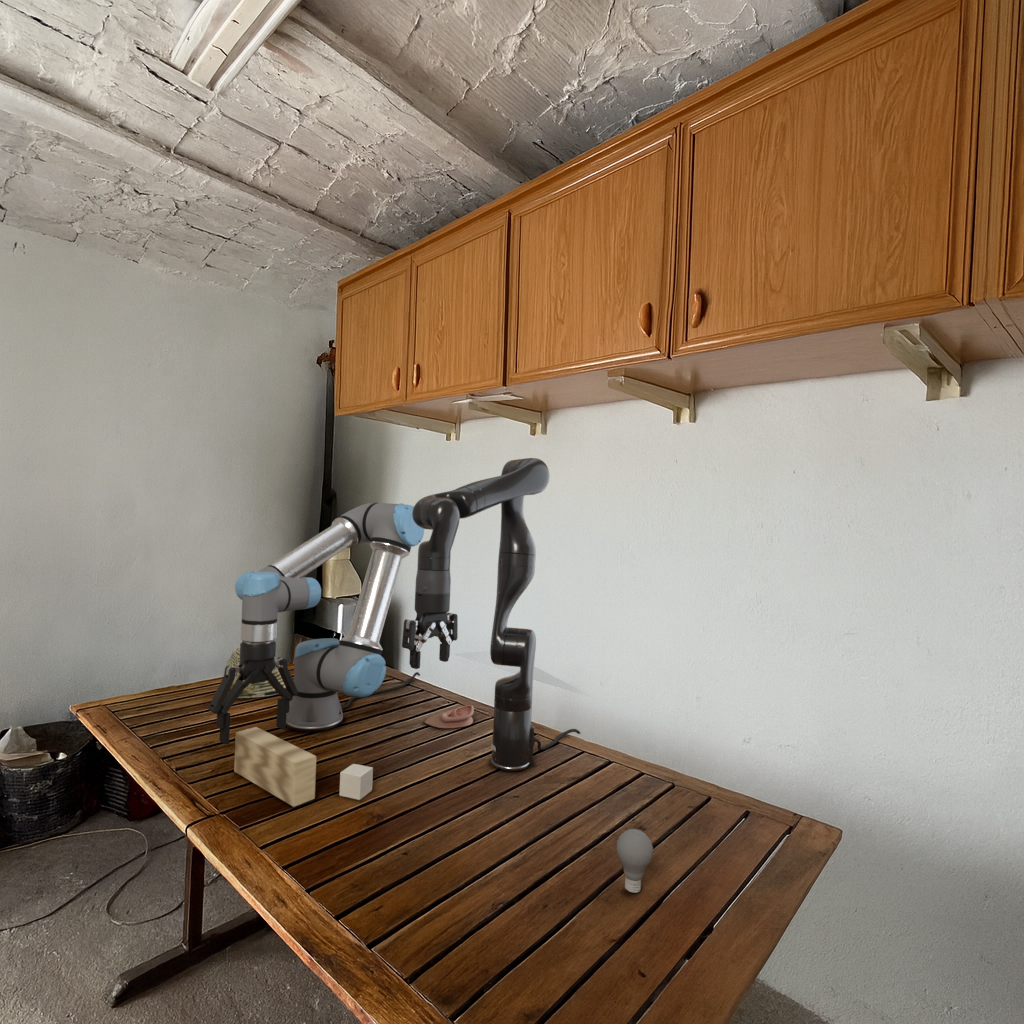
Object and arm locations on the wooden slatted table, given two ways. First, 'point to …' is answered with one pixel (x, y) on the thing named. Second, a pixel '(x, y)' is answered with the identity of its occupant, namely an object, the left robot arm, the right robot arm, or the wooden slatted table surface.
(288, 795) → the ash bar
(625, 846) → the light bulb
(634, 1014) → the wooden slatted table surface
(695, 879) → the wooden slatted table surface
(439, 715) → the anatomical model
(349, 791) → the white cube
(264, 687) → the fossil
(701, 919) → the wooden slatted table surface
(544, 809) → the wooden slatted table surface
